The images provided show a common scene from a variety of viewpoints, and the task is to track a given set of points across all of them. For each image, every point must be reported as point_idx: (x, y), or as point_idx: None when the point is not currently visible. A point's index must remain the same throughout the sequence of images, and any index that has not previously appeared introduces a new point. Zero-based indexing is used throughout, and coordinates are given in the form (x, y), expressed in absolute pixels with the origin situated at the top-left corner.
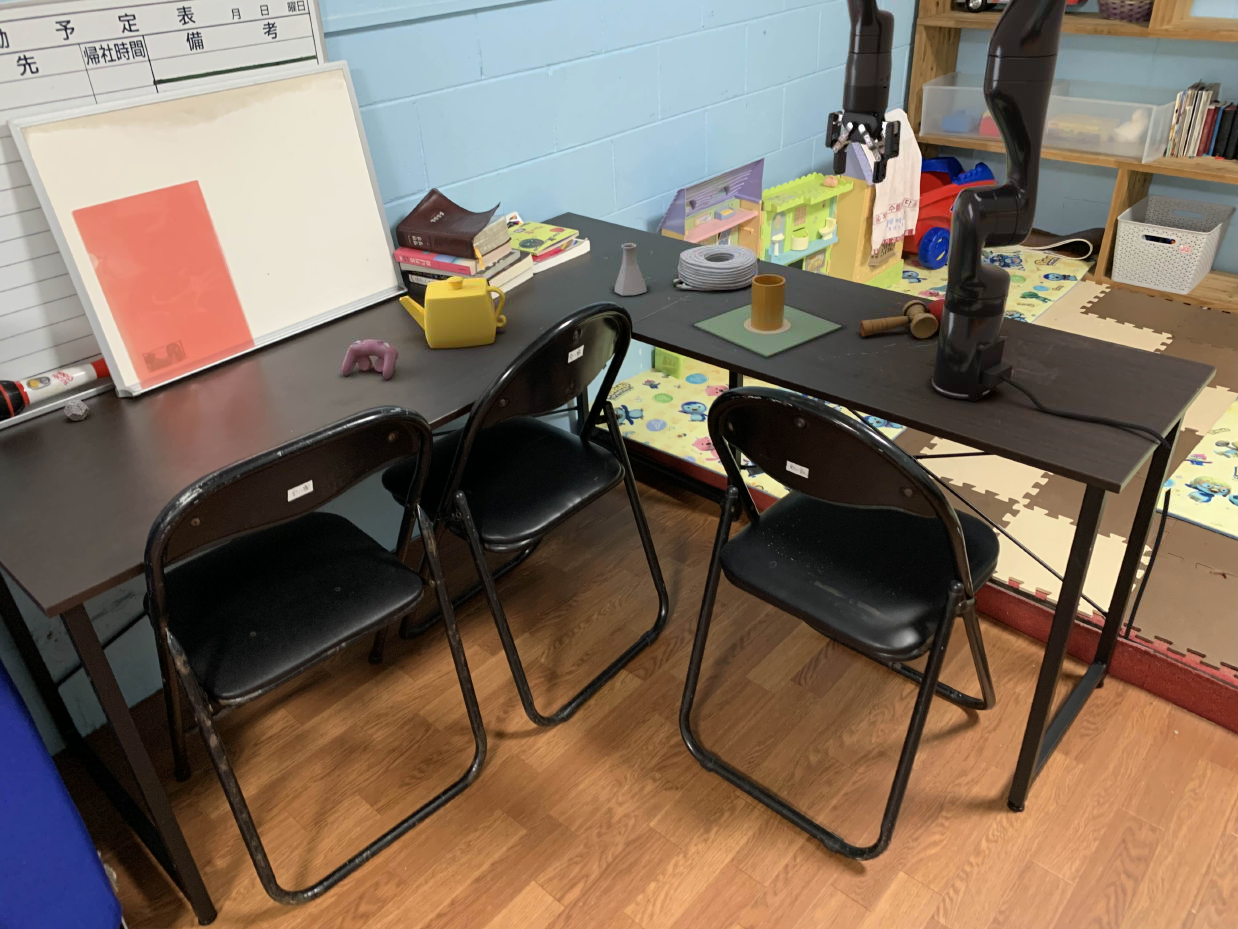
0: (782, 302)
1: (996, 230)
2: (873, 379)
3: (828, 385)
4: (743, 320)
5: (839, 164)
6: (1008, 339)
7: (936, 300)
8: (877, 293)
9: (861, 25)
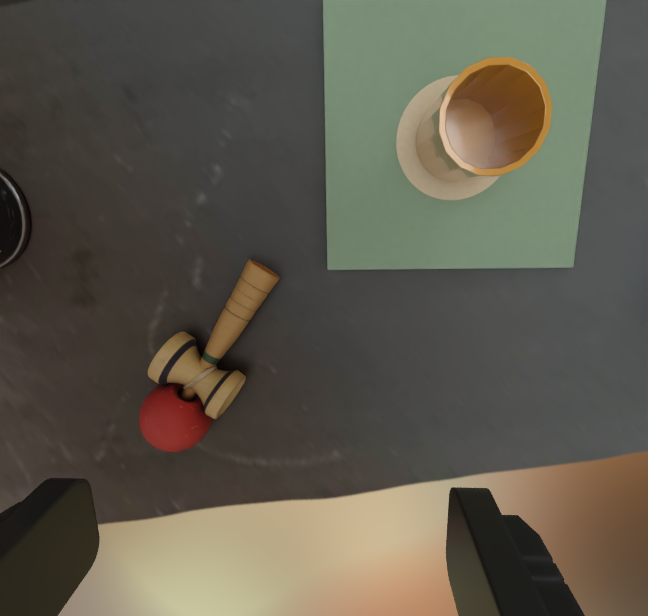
0: (428, 144)
1: None
2: (96, 110)
3: (127, 3)
4: None
5: (473, 567)
6: (86, 450)
7: (177, 427)
8: (404, 468)
9: None
